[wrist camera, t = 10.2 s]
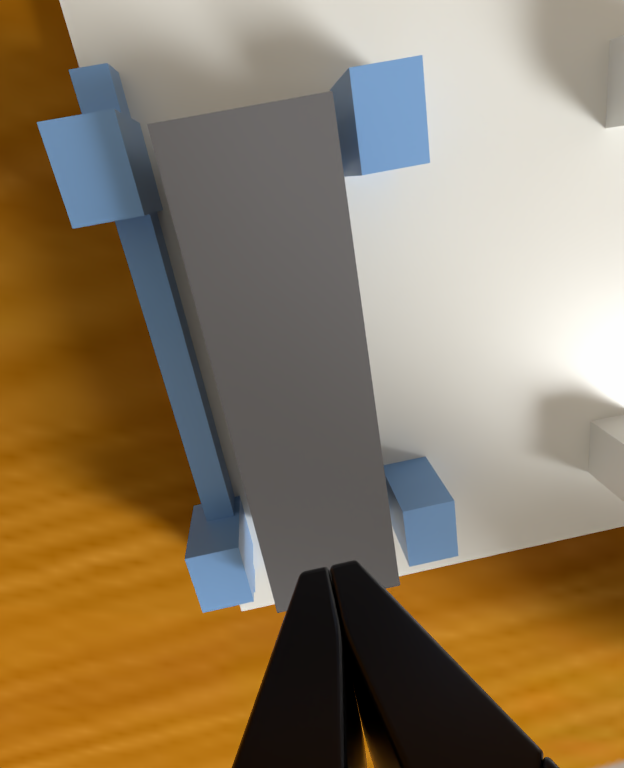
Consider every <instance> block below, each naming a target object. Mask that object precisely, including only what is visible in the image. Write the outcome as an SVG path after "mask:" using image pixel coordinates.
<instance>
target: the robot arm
mask: <svg viewBox="0 0 624 768" xmlns="http://www.w3.org/2000/svg"><path fill="white" fill-rule="evenodd" d="M330 574H331V575H330ZM331 579H332V580H331ZM356 699H357V700H356ZM357 704H358V705H357ZM358 709H359V710H358ZM359 713H360V715H359ZM360 718H361V721H360ZM361 722H362V726H363V730H364V735H365V738H366V741H367V745H368V748H369V752H370V755H371V758H372V761H373V764H374V767H375V768H559V767H558V766H557V765H556V764H555V763H554V762H553V761H552V760H551V759H550V758H549V757H545V758H544V759H543V752H542V750H541V749H540V748H539V747H538V746H537V745H536V744H535V743H534V742H533V741H532V740H531V739H530V738H529V736H528V735H527V734H526V733H525V732H524V731H523V730H522V729H521V728H520V727H519V726H518V725H517V724H516V723H515V722H514V721H513V720H512V719H511V718H510V717H509V716H508V715H507V714H506V713H505V712H504V711H503V710H502V709H501V708H500V707H499V706H498V705H497V704H496V702H495V701H494V700H493V699H492V698H491V697H490V696H489V695H488V694H487V693H486V692H485V691H484V690H483V689H482V688H481V687H480V686H479V685H478V684H477V683H476V682H475V681H474V680H473V679H472V678H471V677H470V676H469V675H468V674H467V673H466V672H465V671H464V670H463V668H462V667H461V666H460V665H459V664H458V663H457V662H456V661H455V660H454V659H453V658H452V657H451V656H450V655H449V654H448V653H447V652H446V651H445V650H444V649H443V648H442V647H441V646H440V645H439V644H438V643H437V642H436V641H435V640H434V639H433V638H432V637H431V636H430V634H429V633H428V632H427V631H426V630H425V629H424V628H423V627H422V626H421V625H420V624H419V623H418V622H417V621H416V620H415V619H414V618H413V617H412V616H411V615H410V614H409V613H408V612H407V611H406V610H405V609H404V608H403V607H402V606H401V605H400V604H399V603H398V601H397V600H396V599H395V598H394V597H393V596H392V595H391V594H390V593H389V592H388V591H387V590H386V589H385V588H384V587H383V586H382V585H381V584H380V583H379V582H378V581H377V580H376V579H375V578H374V577H373V576H372V575H371V574H370V573H369V572H368V571H367V570H366V569H365V567H364V566H363V565H362V564H361V563H359V562H358V561H355V560H352V561H348V562H343V563H339V564H334V565H332V566H331V568H330V571H329V569H328V568H326V567H321V568H317V569H312V570H308V571H304V572H302V573H301V574H300V575H299V578H298V580H297V583H296V586H295V589H294V592H293V595H292V597H291V600H290V603H289V606H288V609H287V612H286V615H285V617H284V620H283V623H282V626H281V629H280V632H279V635H278V637H277V640H276V643H275V646H274V649H273V652H272V654H271V657H270V660H269V663H268V666H267V669H266V672H265V674H264V677H263V680H262V683H261V686H260V689H259V692H258V694H257V697H256V700H255V703H254V706H253V709H252V712H251V714H250V717H249V720H248V723H247V726H246V729H245V732H244V734H243V737H242V740H241V743H240V746H239V749H238V752H237V754H236V757H235V760H234V763H233V766H232V768H367V762H366V753H365V745H364V738H363V732H362V726H361Z"/></svg>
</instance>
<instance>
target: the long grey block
mask: <svg viewBox="0 0 624 768" xmlns="http://www.w3.org/2000/svg"><path fill="white" fill-rule="evenodd" d="M147 126H148V130H149V133H150V137H151V141H152V145H153V148H154V152H155V156H156V160H157V163H158V167H159V171H160V175H161V178H162V182H163V186H164V190H165V193H166V197H167V201H168V205H169V208H170V212H171V216H172V220H173V223H174V227H175V231H176V235H177V238H178V242H179V246H180V250H181V253H182V257H183V261H184V265H185V268H186V272H187V276H188V280H189V283H190V287H191V291H192V295H193V298H194V302H195V306H196V310H197V313H198V317H199V321H200V325H201V328H202V332H203V336H204V340H205V343H206V347H207V351H208V355H209V358H210V362H211V366H212V370H213V373H214V377H215V381H216V385H217V388H218V392H219V396H220V400H221V403H222V407H223V411H224V415H225V418H226V422H227V426H228V430H229V433H230V437H231V441H232V445H233V448H234V452H235V456H236V460H237V463H238V467H239V471H240V475H241V478H242V482H243V486H244V490H245V493H246V497H247V501H248V505H249V508H250V512H251V516H252V520H253V523H254V527H255V531H256V535H257V538H258V542H259V546H260V550H261V553H262V557H263V561H264V565H265V568H266V572H267V576H268V580H269V583H270V587H271V591H272V595H273V598H274V602H275V606H276V610H277V613H279V612H284V611H287V609H288V606H289V603H290V600H291V597H292V595H293V592H294V589H295V586H296V583H297V580H298V578H299V575H300V574H301V573H302V572H304V571H308V570H312V569H317V568H321V567H326V568H328V569H329V571H330V568H331V566H332V565H334V564H339V563H343V562H348V561H352V560H355V561H358V562H359V563H361V564H362V565H363V566H364V567H365V569H366V570H367V571H368V572H369V573H370V574H371V575H372V576H373V577H374V578H375V579H376V580H377V581H378V582H379V583H380V584H381V585H382V586H383V587H384V588H385V589H386V588H390V587H394V586H399V585H400V582H399V574H398V567H397V560H396V552H395V545H394V538H393V530H392V523H391V516H390V508H389V501H388V494H387V486H386V479H385V472H384V464H383V457H382V450H381V442H380V435H379V428H378V420H377V413H376V406H375V398H374V391H373V384H372V376H371V369H370V362H369V354H368V347H367V340H366V332H365V325H364V318H363V310H362V303H361V296H360V288H359V281H358V274H357V266H356V259H355V252H354V244H353V237H352V230H351V222H350V215H349V208H348V200H347V193H346V186H345V178H344V171H343V164H342V156H341V149H340V142H339V134H338V127H337V120H336V112H335V105H334V98H333V91H329V92H324V93H318V94H313V95H307V96H301V97H296V98H290V99H285V100H279V101H274V102H268V103H263V104H257V105H251V106H246V107H240V108H235V109H229V110H224V111H218V112H212V113H207V114H201V115H196V116H190V117H185V118H179V119H174V120H168V121H162V122H157V123H151V124H147ZM330 575H331V574H330ZM331 580H332V579H331Z"/></svg>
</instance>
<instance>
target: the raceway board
mask: <svg viewBox="0 0 624 768" xmlns="http://www.w3.org/2000/svg"><path fill="white" fill-rule="evenodd" d="M59 1H60V5H61V8H62V11H63V15H64V18H65V21H66V25H67V28H68V31H69V35H70V38H71V41H72V45H73V48H74V51H75V55H76V58H77V61H78V65H79V68H75V69H69V73H70V77H71V80H72V83H73V86H74V90H75V93H76V96H77V99H78V103H79V106H80V109H81V112H82V114H81V115H75V116H69V117H63V118H58V119H52V120H46V121H40V122H37V125H38V128H39V131H40V134H41V137H42V140H43V143H44V146H45V149H46V152H47V155H48V158H49V161H50V163H51V166H52V169H53V172H54V175H55V178H56V181H57V184H58V187H59V190H60V193H61V196H62V199H63V202H64V205H65V208H66V211H67V214H68V217H69V219H70V222H71V225H72V228H73V229H75V228H80V227H85V226H91V225H96V224H102V223H107V222H113V221H115V223H116V227H117V230H118V233H119V236H120V240H121V243H122V246H123V250H124V253H125V256H126V259H127V263H128V266H129V269H130V272H131V276H132V279H133V282H134V285H135V289H136V292H137V295H138V298H139V302H140V305H141V308H142V312H143V315H144V318H145V321H146V325H147V328H148V331H149V334H150V338H151V341H152V344H153V347H154V351H155V354H156V357H157V360H158V364H159V367H160V370H161V374H162V377H163V380H164V383H165V387H166V390H167V393H168V396H169V400H170V403H171V406H172V409H173V413H174V416H175V419H176V423H177V426H178V429H179V432H180V436H181V439H182V442H183V445H184V449H185V452H186V455H187V458H188V462H189V465H190V468H191V471H192V475H193V478H194V481H195V485H196V488H197V491H198V494H199V498H200V501H201V504H199V505H194V507H193V513H192V519H191V525H190V531H189V537H188V543H187V549H186V555H185V561H186V564H187V567H188V570H189V573H190V576H191V579H192V582H193V585H194V588H195V591H196V594H197V597H198V600H199V603H200V606H201V609H202V612H203V613H204V612H209V611H213V610H218V609H222V608H227V607H231V606H236V605H240V607H241V610H242V611H246V610H250V609H255V608H259V607H264V606H268V605H273V604H275V602H274V598H273V595H272V591H271V587H270V583H269V580H268V576H267V572H266V568H265V565H264V561H263V557H262V553H261V550H260V546H259V542H258V538H257V535H256V531H255V527H254V523H253V520H252V516H251V512H250V508H249V505H248V501H247V497H246V493H245V490H244V486H243V482H242V478H241V475H240V471H239V467H238V463H237V460H236V456H235V452H234V448H233V445H232V441H231V437H230V433H229V430H228V426H227V422H226V418H225V415H224V411H223V407H222V403H221V400H220V396H219V392H218V388H217V385H216V381H215V377H214V373H213V370H212V366H211V362H210V358H209V355H208V351H207V347H206V343H205V340H204V336H203V332H202V328H201V325H200V321H199V317H198V313H197V310H196V306H195V302H194V298H193V295H192V291H191V287H190V283H189V280H188V276H187V272H186V268H185V265H184V261H183V257H182V253H181V250H180V246H179V242H178V238H177V235H176V231H175V227H174V223H173V220H172V216H171V212H170V208H169V205H168V201H167V197H166V193H165V190H164V186H163V182H162V178H161V175H160V171H159V167H158V163H157V160H156V156H155V152H154V148H153V145H152V141H151V137H150V133H149V130H148V126H147V124H151V123H157V122H162V121H168V120H174V119H179V118H185V117H190V116H196V115H201V114H207V113H212V112H218V111H224V110H229V109H235V108H240V107H246V106H251V105H257V104H263V103H268V102H274V101H279V100H285V99H290V98H296V97H301V96H307V95H313V94H318V93H324V92H329V91H333V98H334V105H335V112H336V120H337V127H338V134H339V142H340V149H341V156H342V164H343V171H344V178H345V186H346V193H347V200H348V208H349V215H350V222H351V230H352V237H353V244H354V252H355V259H356V266H357V274H358V281H359V288H360V296H361V303H362V310H363V318H364V325H365V332H366V340H367V347H368V354H369V362H370V369H371V376H372V384H373V391H374V398H375V406H376V413H377V420H378V428H379V435H380V442H381V450H382V457H383V464H384V472H385V479H386V486H387V494H388V501H389V508H390V516H391V523H392V530H393V538H394V545H395V552H396V560H397V567H398V574H399V576H403V575H407V574H412V573H416V572H421V571H425V570H430V569H434V568H439V567H443V566H448V565H452V564H457V563H461V562H466V561H470V560H475V559H479V558H484V557H488V556H493V555H497V554H501V553H506V552H510V551H515V550H519V549H524V548H528V547H533V546H537V545H542V544H546V543H551V542H555V541H560V540H564V539H569V538H573V537H578V536H582V535H587V534H591V533H596V532H600V531H605V530H609V529H614V528H618V527H623V526H624V0H59Z"/></svg>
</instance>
